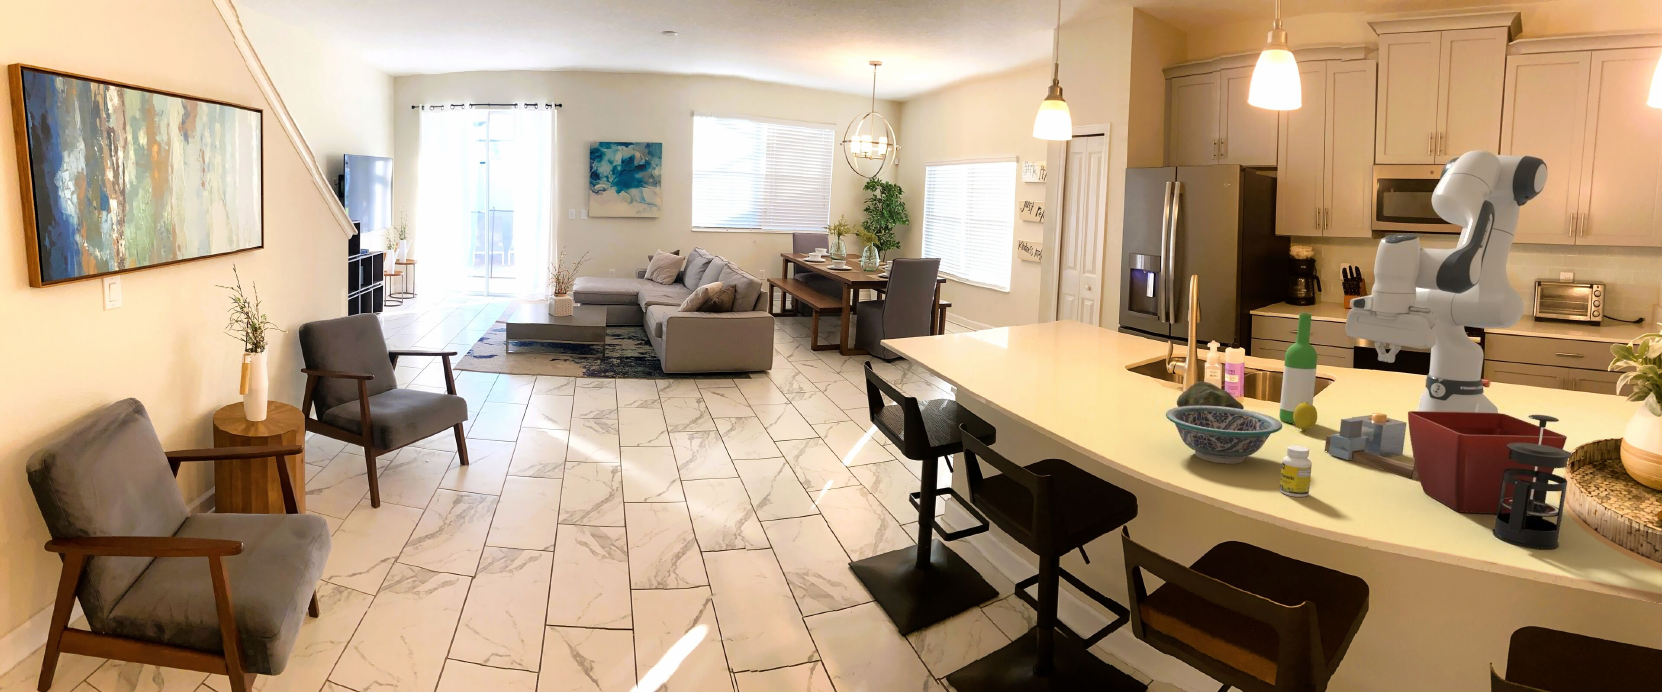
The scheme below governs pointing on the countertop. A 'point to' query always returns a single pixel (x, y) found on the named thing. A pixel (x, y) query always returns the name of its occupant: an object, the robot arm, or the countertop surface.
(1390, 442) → the grey cube with hole
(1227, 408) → the bowl
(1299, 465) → the supplement bottle
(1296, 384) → the wine bottle
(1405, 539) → the countertop surface
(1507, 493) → the plant pot
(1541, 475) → the french press
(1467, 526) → the countertop surface
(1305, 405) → the lemon
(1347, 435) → the carriage
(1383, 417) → the gauge button
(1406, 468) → the rail
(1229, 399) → the decorative rock
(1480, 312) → the robot arm
